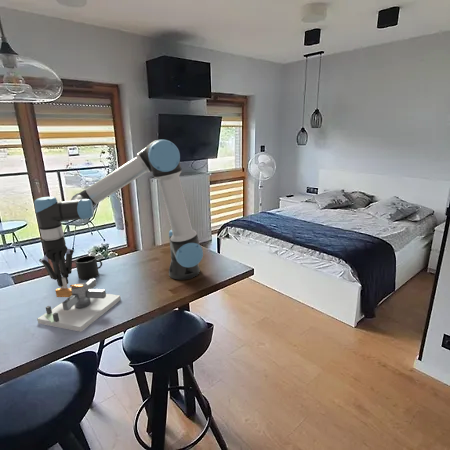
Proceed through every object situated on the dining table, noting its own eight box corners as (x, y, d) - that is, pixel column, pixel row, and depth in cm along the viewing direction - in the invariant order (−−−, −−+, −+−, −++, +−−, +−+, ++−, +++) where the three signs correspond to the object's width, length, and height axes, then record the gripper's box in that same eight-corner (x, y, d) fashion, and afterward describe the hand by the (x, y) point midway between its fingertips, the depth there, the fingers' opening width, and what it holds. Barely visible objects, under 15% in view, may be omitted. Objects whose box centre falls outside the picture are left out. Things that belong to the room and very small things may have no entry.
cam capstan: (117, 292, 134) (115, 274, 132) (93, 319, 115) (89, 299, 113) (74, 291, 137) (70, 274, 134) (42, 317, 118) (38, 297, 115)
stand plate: (120, 299, 133) (119, 289, 131) (79, 333, 111) (76, 320, 110) (82, 294, 139) (80, 283, 138) (36, 324, 117) (33, 312, 116)
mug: (106, 274, 158) (103, 257, 155) (81, 282, 151) (78, 264, 148) (100, 269, 165) (97, 252, 162) (76, 275, 158) (73, 259, 155)
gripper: (63, 231, 128) (74, 283, 135) (30, 241, 118) (44, 297, 125) (74, 233, 124) (84, 287, 131) (41, 244, 114) (54, 301, 121)
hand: (65, 292), depth 128 cm, fingers closed
